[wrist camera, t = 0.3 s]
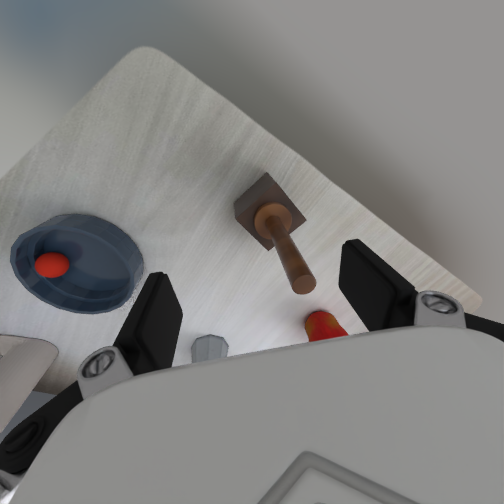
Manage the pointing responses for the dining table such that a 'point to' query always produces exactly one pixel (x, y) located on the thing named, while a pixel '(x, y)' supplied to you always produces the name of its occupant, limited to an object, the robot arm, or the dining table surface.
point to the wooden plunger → (284, 245)
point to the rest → (258, 196)
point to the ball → (52, 264)
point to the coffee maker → (209, 348)
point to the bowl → (80, 263)
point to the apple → (323, 327)
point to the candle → (21, 371)
